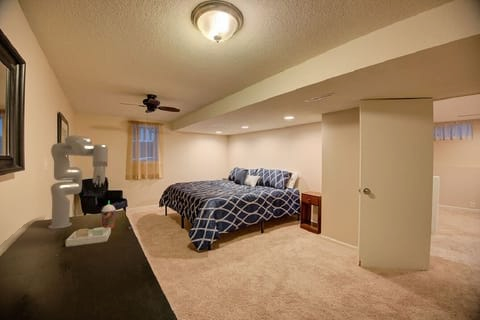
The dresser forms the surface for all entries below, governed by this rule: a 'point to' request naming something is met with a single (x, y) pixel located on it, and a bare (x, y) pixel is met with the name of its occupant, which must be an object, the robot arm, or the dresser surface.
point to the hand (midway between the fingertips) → (99, 192)
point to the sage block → (98, 231)
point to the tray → (88, 238)
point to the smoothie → (108, 216)
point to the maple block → (82, 233)
